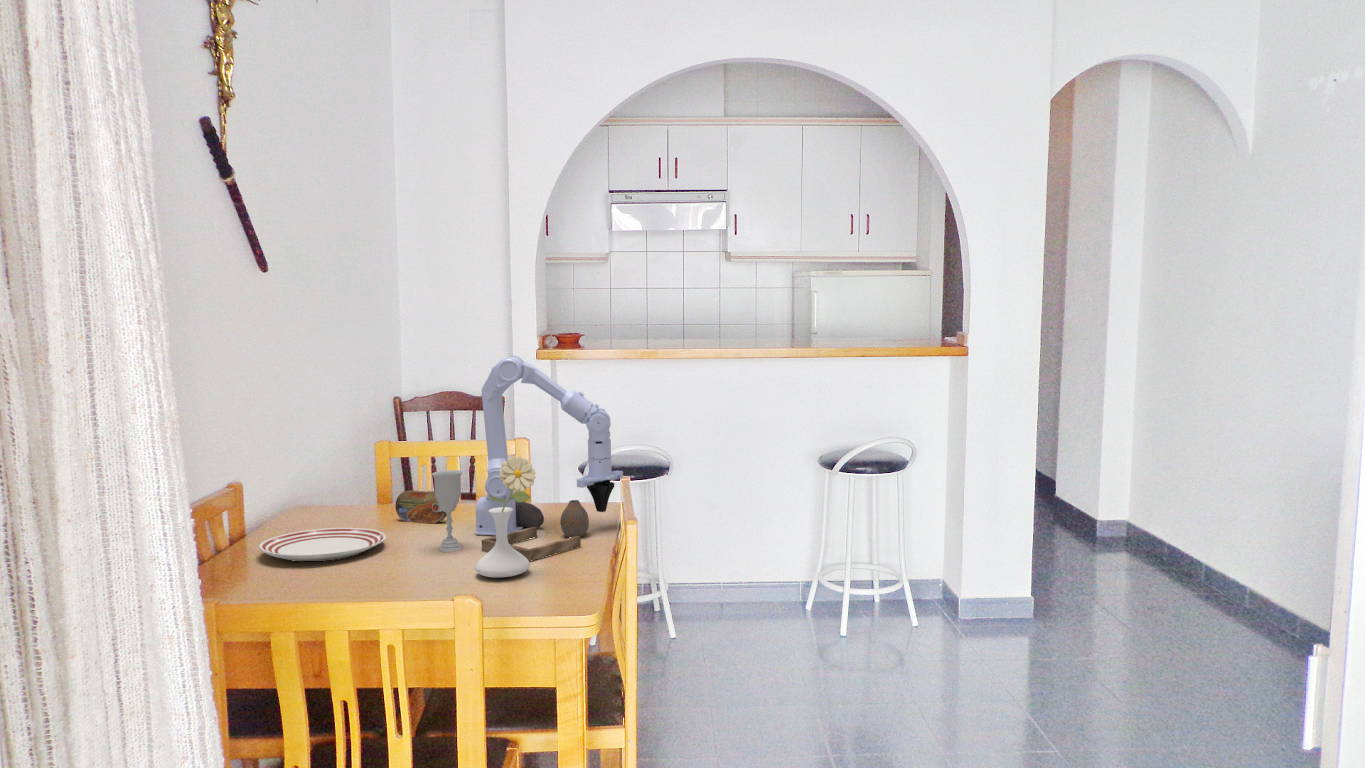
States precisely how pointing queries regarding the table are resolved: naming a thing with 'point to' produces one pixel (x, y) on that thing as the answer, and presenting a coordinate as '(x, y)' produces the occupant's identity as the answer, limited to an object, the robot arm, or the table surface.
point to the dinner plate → (322, 543)
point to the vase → (574, 519)
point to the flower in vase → (502, 555)
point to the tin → (419, 507)
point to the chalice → (448, 502)
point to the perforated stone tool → (528, 515)
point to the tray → (537, 551)
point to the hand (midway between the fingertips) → (601, 511)
